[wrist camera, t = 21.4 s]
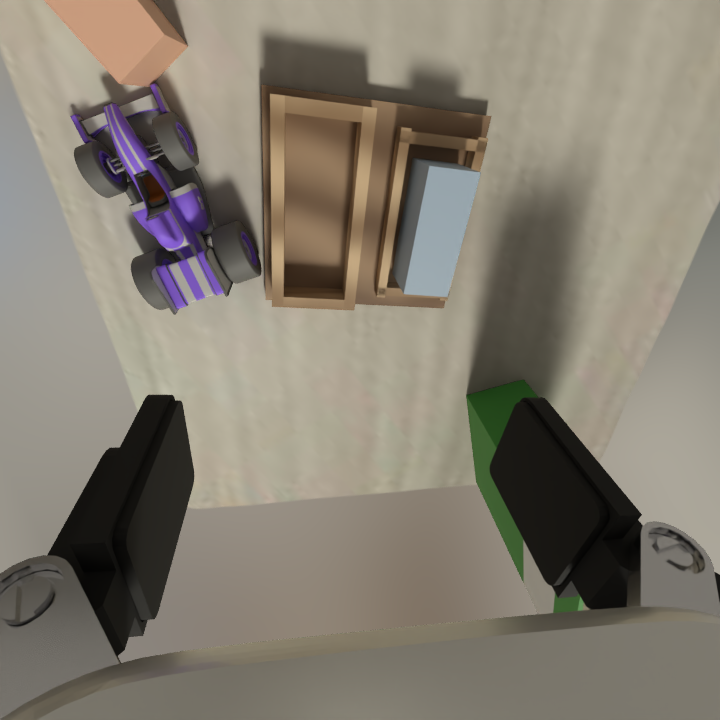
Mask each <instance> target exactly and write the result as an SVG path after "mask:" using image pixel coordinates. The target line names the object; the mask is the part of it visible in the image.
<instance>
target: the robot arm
mask: <svg viewBox="0 0 720 720" xmlns="http://www.w3.org/2000/svg"><path fill="white" fill-rule="evenodd" d="M489 469H490V475H491V477H492V479H493V481H494V483H495V485H496V487H497V489H498V491H499V493H500V495H501V497H502V499H503V501H504V503H505V505H506V507H507V509H508V511H509V513H510V514H511V516H512V518H513V520H514V522H515V524H516V526H517V528H518V530H519V532H520V534H521V536H522V538H523V540H524V542H525V544H526V546H527V548H528V550H529V551H530V553H531V555H532V557H533V559H534V561H535V563H536V565H537V567H538V569H539V571H540V573H541V575H542V577H543V579H544V580H545V582H546V583H547V584H548V585H550V586H552V588H553V590H554V592H555V593H556V595H557V597H558V598H566V597H577V595H578V594H579V595H580V597H581V598H582V600H583V602H584V604H583V610H581V611H570V612H559V613H548V614H537V615H527V616H517V617H516V616H515V617H504V618H494V619H484V620H473V621H462V622H453V623H441V624H431V625H421V626H412V627H401V628H390V629H380V630H370V631H360V632H350V633H340V634H331V635H321V636H311V637H302V638H292V639H282V640H272V641H262V642H253V643H245V644H237V645H229V646H220V647H212V648H204V649H196V650H187V651H180V652H174V653H168V654H163V655H156V656H150V657H145V658H140V659H136V660H132V661H128V662H124V663H121V662H120V660H119V658H118V655H119V654H120V653H122V652H123V651H124V650H125V647H126V644H127V641H128V637H134V636H143V634H144V631H145V627H146V623H147V620H149V619H155V617H156V616H157V613H158V610H159V607H160V603H161V600H162V595H163V592H164V589H165V585H166V581H167V578H168V574H169V571H170V567H171V563H172V560H173V556H174V552H175V549H176V545H177V542H178V538H179V534H180V531H181V527H182V524H183V520H184V516H185V513H186V509H187V505H188V502H189V498H190V495H191V491H192V487H193V483H194V468H193V463H192V457H191V451H190V445H189V439H188V433H187V427H186V422H185V416H184V410H183V404H182V402H181V401H175V398H174V396H173V395H148V396H147V397H146V398H145V400H144V402H143V404H142V406H141V408H140V410H139V412H138V413H137V415H136V417H135V419H134V421H133V423H132V425H131V427H130V429H129V431H128V433H127V435H126V437H125V439H124V441H123V442H122V444H121V447H120V448H109V449H108V450H106V452H105V453H104V455H103V456H102V458H101V459H100V461H99V463H98V465H97V467H96V469H95V470H94V472H93V474H92V476H91V477H90V479H89V481H88V483H87V485H86V487H85V488H84V490H83V492H82V494H81V495H80V497H79V499H78V501H77V503H76V504H75V506H74V508H73V510H72V512H71V514H70V515H69V517H68V519H67V521H66V522H65V524H64V526H63V528H62V530H61V532H60V533H59V535H58V537H57V539H56V541H55V542H54V544H53V546H52V548H51V550H50V551H49V553H48V555H47V556H46V555H43V556H38V557H34V558H29V559H27V560H24V561H22V562H20V563H17V564H16V565H13V566H11V567H10V568H8V569H7V570H5V571H4V572H2V573H0V720H720V575H719V574H717V573H715V572H714V567H713V565H712V562H711V559H710V558H709V556H708V555H707V553H706V552H705V550H704V549H703V548H702V547H701V546H700V545H699V544H698V543H697V542H696V541H695V540H694V539H692V538H691V537H690V536H688V535H687V534H686V533H684V532H683V531H681V530H679V529H677V528H675V527H673V526H671V525H668V524H665V523H661V522H648V523H646V524H645V525H644V526H642V524H641V523H640V522H639V521H638V519H639V518H640V516H641V515H642V514H641V513H640V512H639V511H638V509H637V508H636V507H635V506H634V505H633V503H632V502H631V501H630V500H629V499H628V497H627V496H626V495H625V494H624V493H623V491H622V490H621V489H620V488H619V487H618V485H617V484H616V483H615V482H614V481H613V479H612V478H611V477H610V476H609V475H608V473H607V472H606V471H605V470H604V469H603V467H602V466H601V465H600V464H599V463H598V461H597V460H596V459H595V458H594V457H593V455H592V454H591V453H590V452H589V450H588V449H587V448H586V447H585V446H584V444H583V443H582V442H581V441H580V440H579V438H578V437H577V436H576V435H575V434H574V432H573V431H572V430H571V429H570V428H569V426H568V425H567V424H566V423H565V422H564V420H563V419H562V418H561V417H560V416H559V414H558V413H557V412H556V411H555V410H554V408H553V407H552V406H551V405H550V404H549V402H548V401H547V400H546V399H545V398H539V397H525V398H522V399H521V400H520V402H518V403H516V404H515V406H514V408H513V410H512V413H511V415H510V418H509V420H508V422H507V425H506V427H505V430H504V432H503V434H502V437H501V439H500V441H499V444H498V446H497V449H496V451H495V453H494V456H493V458H492V461H491V463H490V468H489Z"/></svg>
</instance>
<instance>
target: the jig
mask: <svg viewBox="0 0 720 720" xmlns="http://www.w3.org/2000/svg"><path fill="white" fill-rule="evenodd" d="M261 88H262V139H263V189H264V240H265V291H266V300H272V307H292V308H314V309H336V310H354V307H355V304H366V305H387V306H408V307H429V308H444V304H445V301H447V300H448V297H439V296H424V295H409V294H403V292H402V290H401V288H400V287H399V285H398V283H397V281H396V279H395V277H394V276H393V274H392V271H393V265H394V260H395V254H396V249H397V243H398V237H399V232H400V226H401V221H402V215H403V209H404V204H405V198H406V193H407V187H408V181H409V176H410V170H411V165H412V159H413V158H419V159H426V160H434V161H441V162H449V163H456V164H460V165H463V166H465V167H468V168H470V169H473V170H476V171H478V172H480V169H481V165H482V161H483V157H484V153H485V150H486V146H487V142H488V138H486V136H487V132H488V128H489V124H490V120H491V116H485V115H478V114H471V113H463V112H456V111H449V110H442V109H434V108H427V107H420V106H413V105H406V104H398V103H391V102H384V101H377V100H370V99H362V98H355V97H348V96H341V95H333V94H326V93H319V92H312V91H305V90H297V89H290V88H283V87H276V86H268V85H261ZM458 257H459V256H458ZM457 261H458V260H457ZM454 272H455V271H454ZM453 276H454V275H453ZM452 280H453V279H452ZM451 284H452V283H451ZM450 288H451V286H450ZM449 292H450V290H449ZM448 296H449V294H448Z"/></svg>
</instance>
